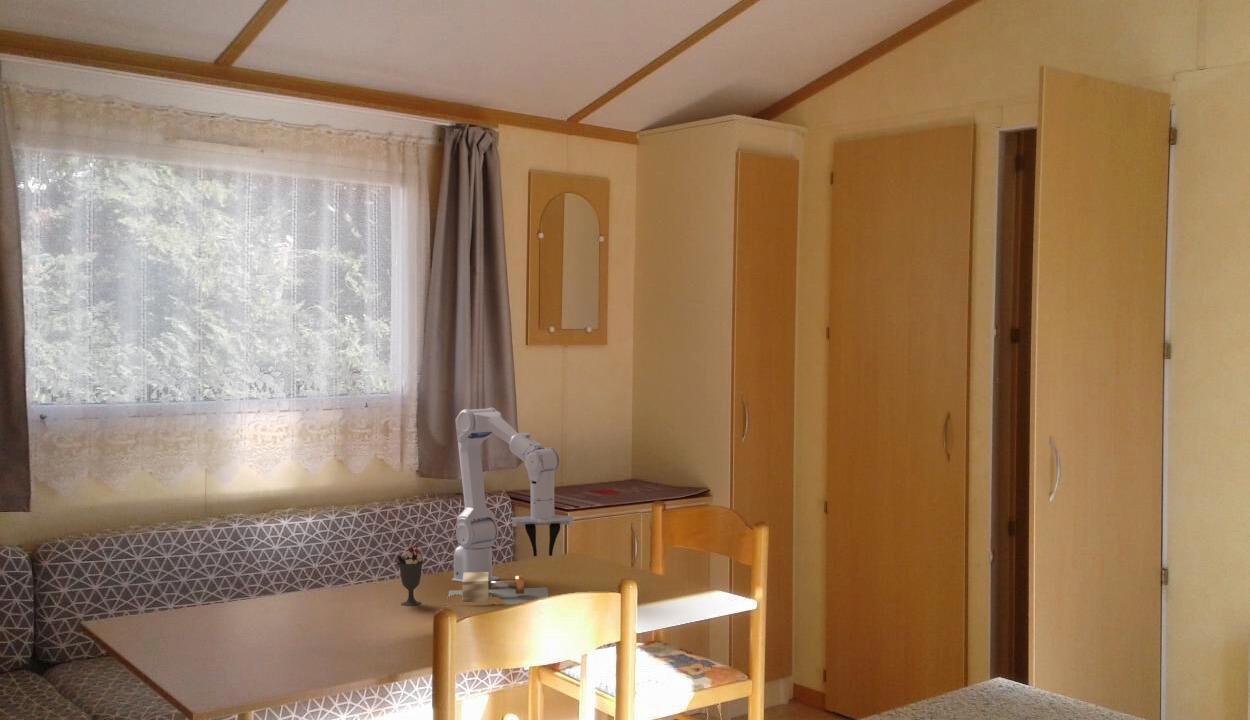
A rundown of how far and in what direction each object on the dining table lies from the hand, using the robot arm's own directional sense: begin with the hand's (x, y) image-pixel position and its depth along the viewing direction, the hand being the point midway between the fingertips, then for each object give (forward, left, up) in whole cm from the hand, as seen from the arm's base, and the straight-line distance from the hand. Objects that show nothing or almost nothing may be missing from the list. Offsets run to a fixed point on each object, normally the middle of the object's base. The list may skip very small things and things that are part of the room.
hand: (542, 555), depth 271 cm
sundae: (-21, -23, -10) cm, 33 cm away
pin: (-7, -6, -9) cm, 13 cm away
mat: (-8, -7, -10) cm, 15 cm away
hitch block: (-12, -10, -10) cm, 19 cm away
